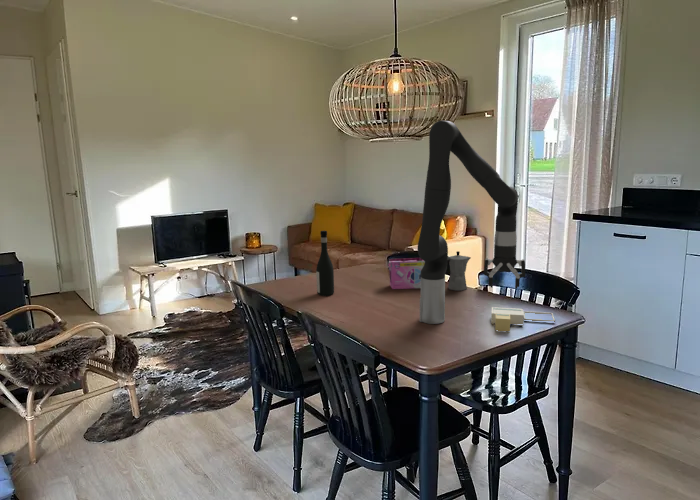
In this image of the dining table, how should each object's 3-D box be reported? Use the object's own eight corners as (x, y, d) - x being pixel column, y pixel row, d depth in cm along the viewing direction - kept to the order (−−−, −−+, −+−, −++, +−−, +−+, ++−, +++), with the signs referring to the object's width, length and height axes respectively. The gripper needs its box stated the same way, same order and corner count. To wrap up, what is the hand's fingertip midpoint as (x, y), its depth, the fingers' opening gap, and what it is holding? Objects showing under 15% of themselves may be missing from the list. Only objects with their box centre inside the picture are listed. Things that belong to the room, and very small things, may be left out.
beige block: (495, 331, 185) (495, 318, 184) (495, 326, 190) (495, 313, 189) (509, 332, 183) (510, 319, 182) (509, 327, 189) (509, 313, 188)
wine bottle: (315, 296, 236) (312, 232, 231) (320, 291, 244) (317, 229, 238) (331, 297, 234) (329, 232, 229) (336, 292, 242) (334, 229, 236)
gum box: (389, 289, 245) (389, 262, 242) (386, 285, 253) (386, 258, 250) (438, 287, 247) (438, 260, 244) (434, 283, 255) (434, 256, 252)
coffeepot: (465, 284, 250) (466, 248, 247) (474, 289, 241) (475, 252, 238) (436, 287, 247) (436, 250, 243) (444, 292, 238) (445, 254, 234)
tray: (524, 321, 194) (524, 318, 194) (522, 313, 204) (522, 311, 203) (555, 323, 191) (555, 320, 191) (552, 315, 201) (552, 312, 200)
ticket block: (491, 325, 191) (491, 314, 190) (491, 316, 201) (491, 306, 200) (523, 327, 188) (524, 316, 187) (522, 318, 198) (522, 308, 197)
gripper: (484, 244, 179) (483, 289, 182) (527, 245, 176) (525, 291, 179) (484, 241, 187) (483, 284, 190) (525, 242, 183) (524, 286, 186)
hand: (503, 287), depth 184 cm, fingers open, 8 cm apart
